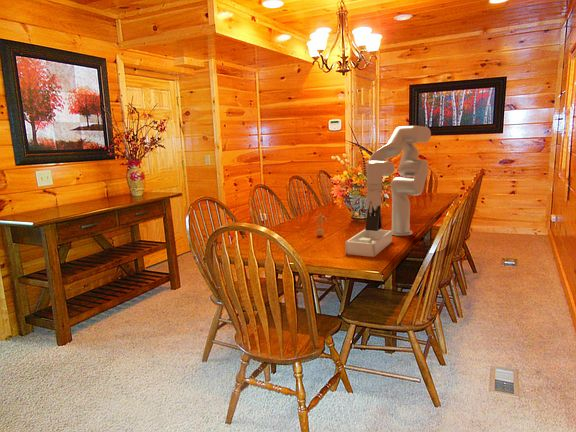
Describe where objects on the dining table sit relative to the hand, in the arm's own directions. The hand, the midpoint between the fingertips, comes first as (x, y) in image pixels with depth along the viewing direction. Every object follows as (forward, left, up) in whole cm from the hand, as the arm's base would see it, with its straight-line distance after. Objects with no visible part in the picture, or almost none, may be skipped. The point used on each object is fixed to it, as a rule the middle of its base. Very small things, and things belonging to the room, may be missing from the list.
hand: (373, 223), depth 217 cm
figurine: (-8, -33, -11) cm, 36 cm away
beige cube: (+14, 0, -10) cm, 17 cm away
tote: (+7, 0, -11) cm, 13 cm away
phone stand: (0, 0, -3) cm, 3 cm away
